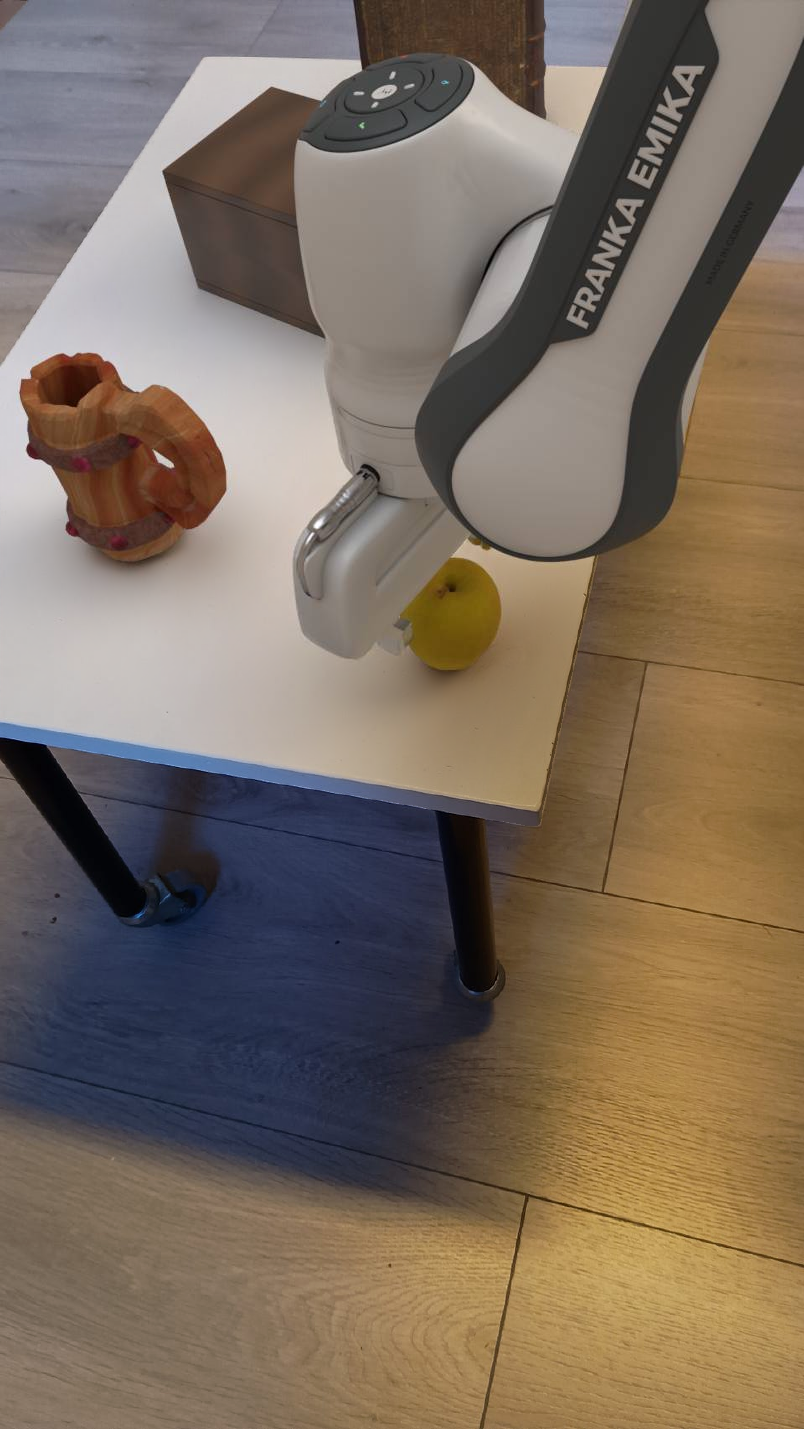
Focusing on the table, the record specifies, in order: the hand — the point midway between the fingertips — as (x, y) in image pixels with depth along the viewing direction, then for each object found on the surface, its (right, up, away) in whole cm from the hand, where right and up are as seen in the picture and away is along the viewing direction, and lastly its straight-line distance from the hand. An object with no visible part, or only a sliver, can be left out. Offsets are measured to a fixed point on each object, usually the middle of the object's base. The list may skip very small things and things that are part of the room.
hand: (441, 590), depth 67 cm
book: (+3, +48, +39) cm, 62 cm away
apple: (+1, -4, +6) cm, 7 cm away
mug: (-20, +5, +14) cm, 25 cm away
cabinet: (-10, +31, +30) cm, 44 cm away
